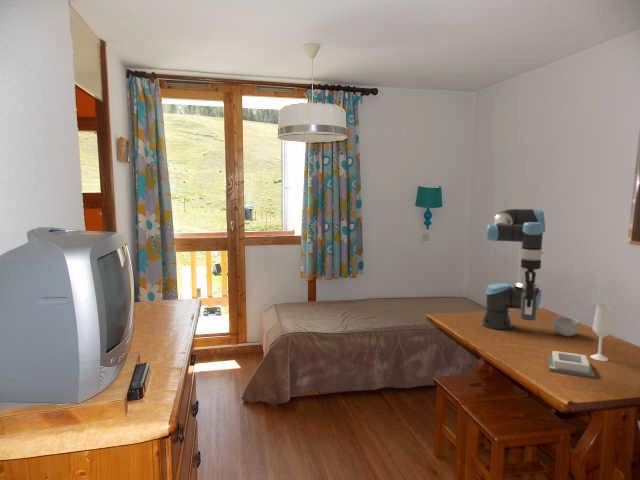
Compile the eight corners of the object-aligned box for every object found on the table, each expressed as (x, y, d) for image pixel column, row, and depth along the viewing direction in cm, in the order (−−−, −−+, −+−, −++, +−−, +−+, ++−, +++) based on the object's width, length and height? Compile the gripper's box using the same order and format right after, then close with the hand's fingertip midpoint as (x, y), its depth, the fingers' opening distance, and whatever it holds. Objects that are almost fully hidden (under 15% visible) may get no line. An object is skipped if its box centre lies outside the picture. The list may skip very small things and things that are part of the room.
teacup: (571, 331, 225) (572, 316, 224) (582, 338, 214) (583, 323, 213) (544, 330, 226) (545, 315, 225) (553, 337, 215) (554, 322, 214)
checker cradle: (547, 357, 190) (547, 348, 189) (589, 363, 183) (589, 354, 183) (549, 370, 175) (549, 361, 175) (594, 378, 169) (595, 368, 168)
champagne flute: (600, 361, 185) (604, 308, 182) (586, 355, 191) (590, 304, 188) (612, 360, 187) (616, 307, 184) (598, 354, 193) (602, 303, 190)
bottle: (530, 316, 185) (532, 282, 183) (538, 320, 179) (540, 285, 177) (517, 316, 184) (519, 282, 183) (524, 320, 179) (526, 286, 177)
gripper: (542, 263, 168) (538, 319, 171) (540, 256, 185) (537, 307, 188) (521, 261, 172) (518, 317, 174) (521, 255, 188) (518, 305, 191)
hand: (528, 312), depth 181 cm, fingers closed on bottle, 6 cm apart
